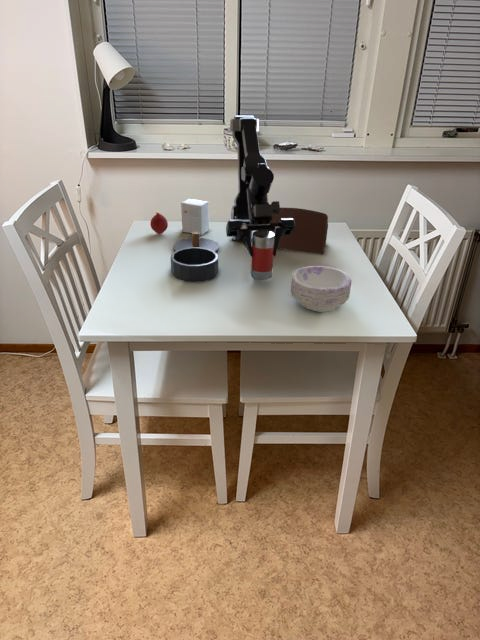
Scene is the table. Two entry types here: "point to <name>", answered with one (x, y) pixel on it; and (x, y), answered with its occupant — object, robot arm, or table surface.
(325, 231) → the letter holder
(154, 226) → the onion
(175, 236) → the table surface
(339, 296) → the paper bowls
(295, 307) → the table surface
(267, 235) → the cylinder
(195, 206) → the small box
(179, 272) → the pot
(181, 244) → the lid
